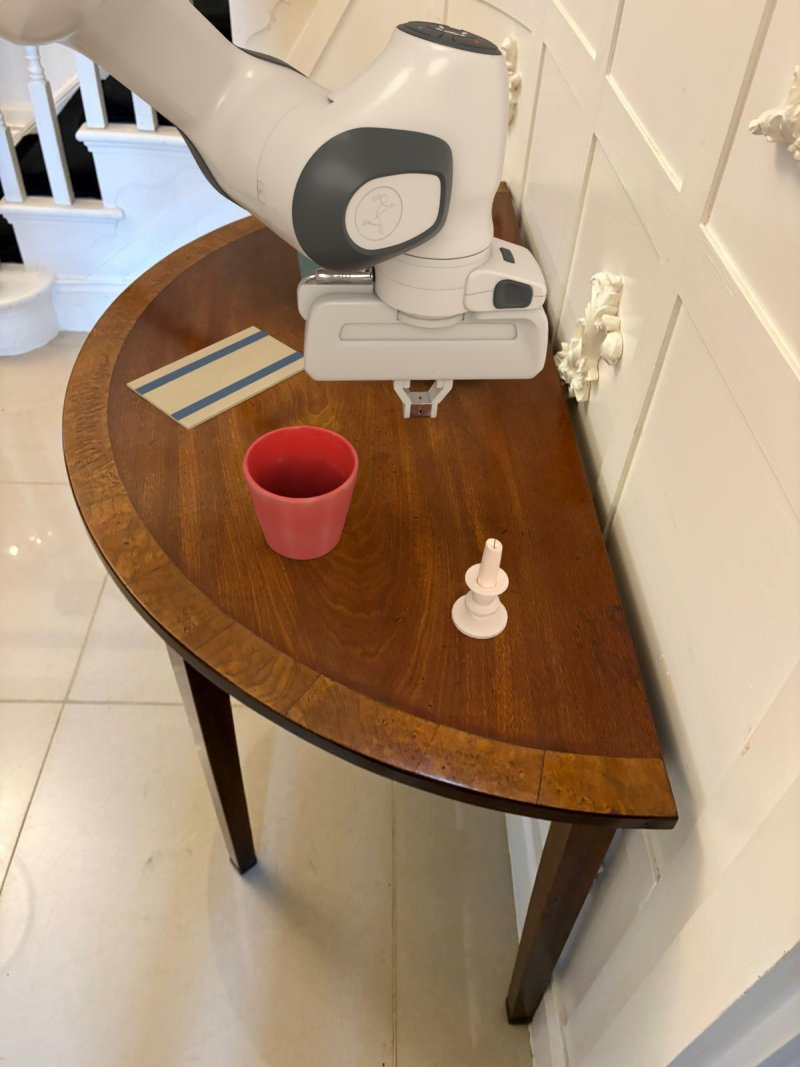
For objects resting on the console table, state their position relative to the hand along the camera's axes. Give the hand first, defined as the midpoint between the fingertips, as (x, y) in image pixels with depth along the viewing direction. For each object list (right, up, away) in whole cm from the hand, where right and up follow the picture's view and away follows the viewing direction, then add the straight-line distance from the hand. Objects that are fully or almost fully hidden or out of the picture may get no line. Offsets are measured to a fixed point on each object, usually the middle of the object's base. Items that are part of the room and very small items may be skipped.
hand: (418, 414), depth 70 cm
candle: (+6, -19, +3) cm, 20 cm away
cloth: (-24, +9, +28) cm, 38 cm away
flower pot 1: (-12, +24, +44) cm, 51 cm away
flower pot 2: (-11, -11, +9) cm, 18 cm away
